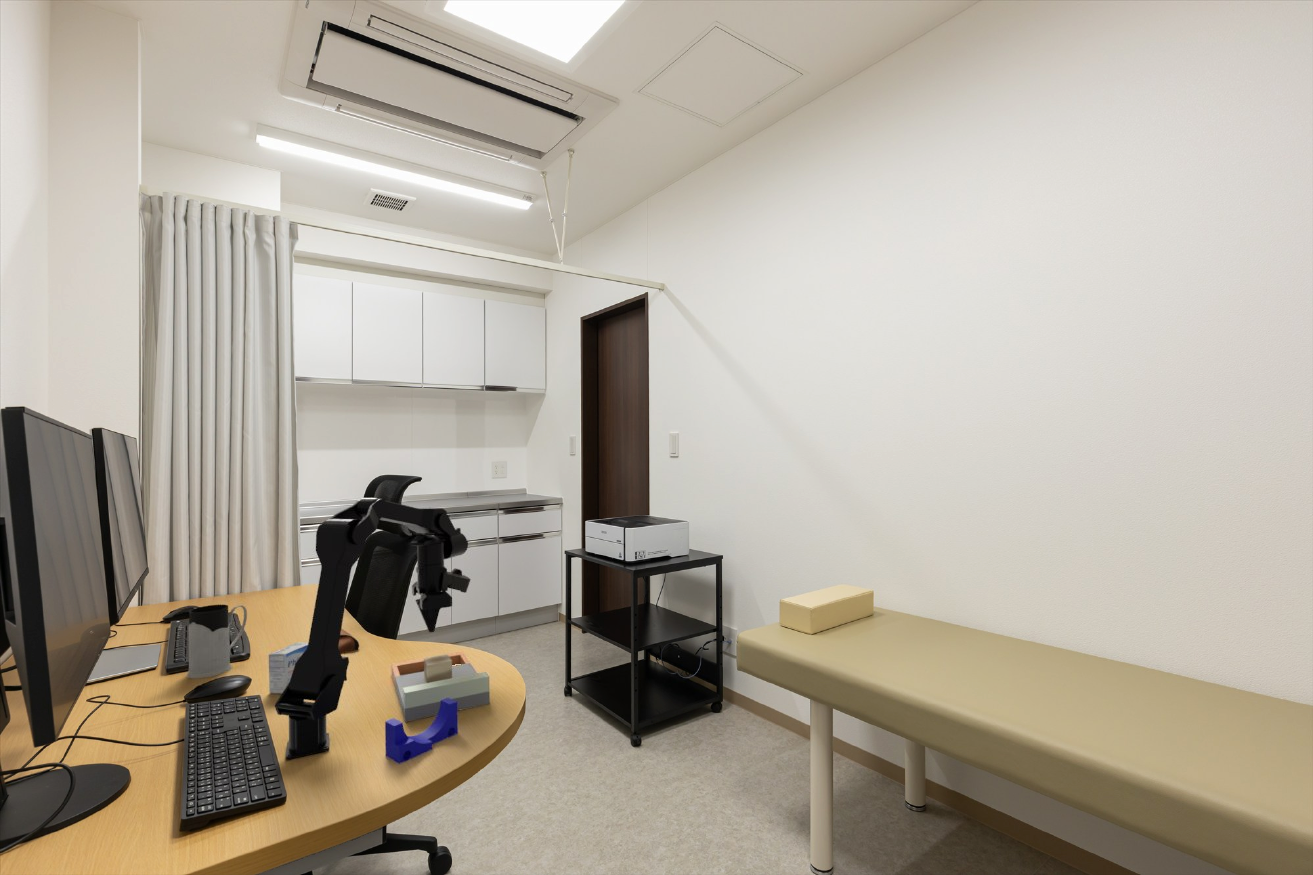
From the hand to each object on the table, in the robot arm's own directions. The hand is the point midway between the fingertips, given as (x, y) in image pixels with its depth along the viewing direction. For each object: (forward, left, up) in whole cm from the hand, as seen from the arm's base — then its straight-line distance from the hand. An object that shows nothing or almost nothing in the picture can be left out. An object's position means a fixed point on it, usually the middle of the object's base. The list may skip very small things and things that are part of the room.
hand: (431, 631), depth 138 cm
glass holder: (+35, +44, -11) cm, 57 cm away
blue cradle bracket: (-33, +6, -11) cm, 35 cm away
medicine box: (+11, +28, -11) cm, 32 cm away
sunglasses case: (+39, +20, -11) cm, 45 cm away
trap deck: (-7, 0, -11) cm, 13 cm away
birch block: (-8, 0, -8) cm, 11 cm away
